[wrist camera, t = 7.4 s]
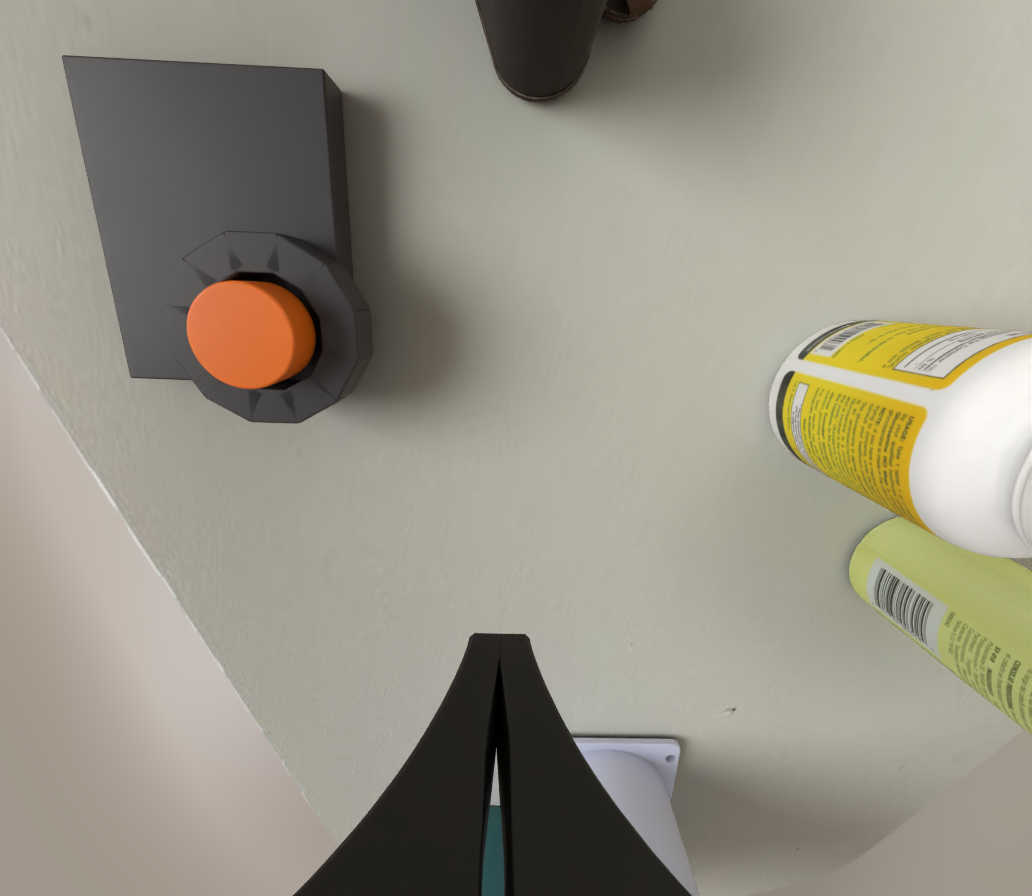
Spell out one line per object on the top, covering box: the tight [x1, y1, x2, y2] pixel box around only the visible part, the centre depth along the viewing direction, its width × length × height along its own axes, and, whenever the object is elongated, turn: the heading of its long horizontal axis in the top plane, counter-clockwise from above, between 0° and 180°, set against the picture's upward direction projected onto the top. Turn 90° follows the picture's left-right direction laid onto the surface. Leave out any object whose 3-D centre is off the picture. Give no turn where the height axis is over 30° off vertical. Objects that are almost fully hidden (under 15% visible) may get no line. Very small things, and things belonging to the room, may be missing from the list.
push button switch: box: [62, 55, 372, 423], centre depth 16 cm, size 11×9×4 cm
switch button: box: [187, 280, 316, 389], centre depth 15 cm, size 3×3×2 cm
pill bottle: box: [769, 320, 1032, 558], centre depth 15 cm, size 6×6×11 cm
